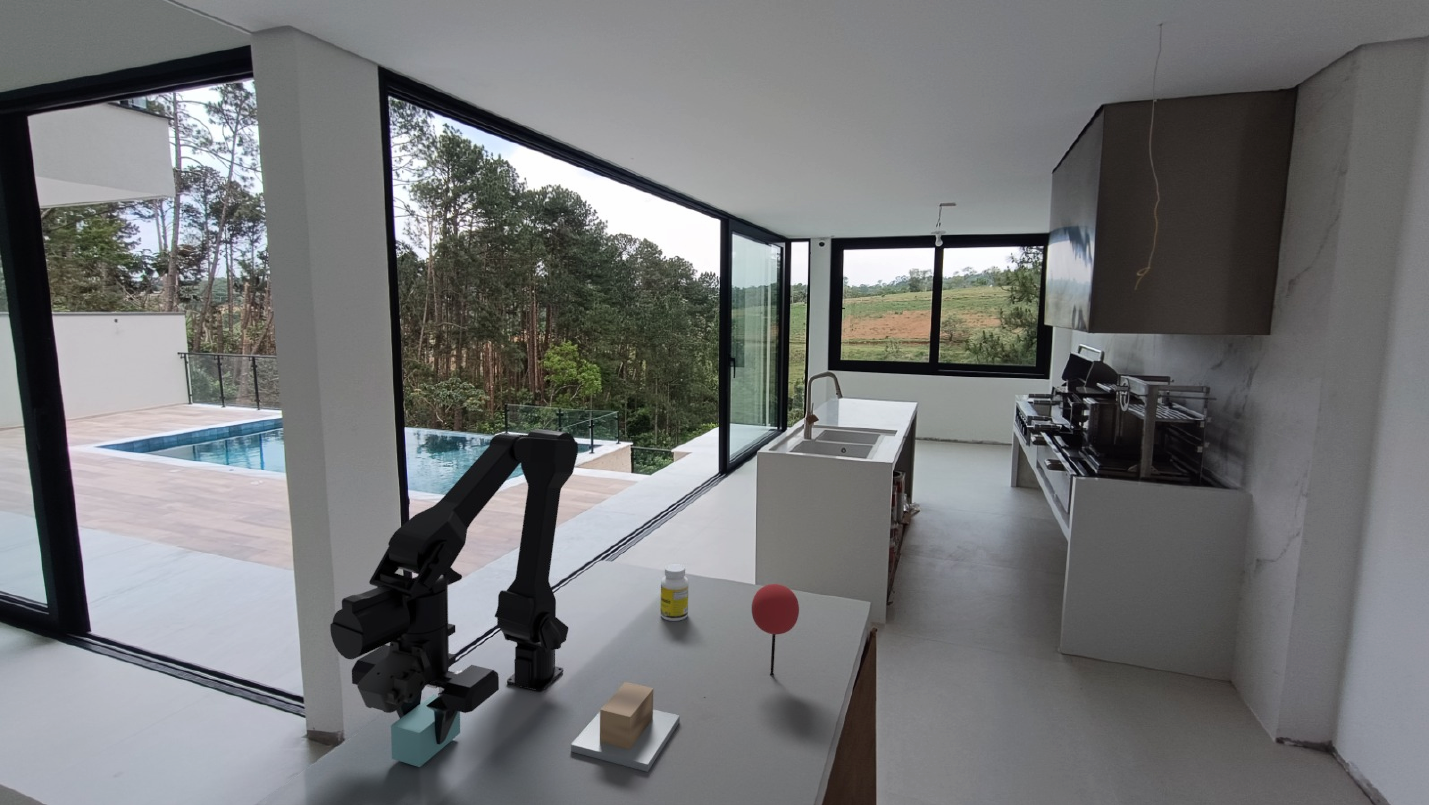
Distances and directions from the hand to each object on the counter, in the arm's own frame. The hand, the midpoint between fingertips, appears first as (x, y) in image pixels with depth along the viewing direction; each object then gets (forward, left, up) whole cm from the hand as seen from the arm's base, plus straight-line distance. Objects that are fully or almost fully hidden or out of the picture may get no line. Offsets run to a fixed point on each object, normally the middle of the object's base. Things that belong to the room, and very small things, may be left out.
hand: (426, 738), depth 82 cm
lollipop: (-35, +38, -2) cm, 52 cm away
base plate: (-12, +23, -2) cm, 26 cm away
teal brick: (0, 0, -1) cm, 1 cm away
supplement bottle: (-49, +15, -2) cm, 51 cm away
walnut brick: (-12, +23, -1) cm, 26 cm away
